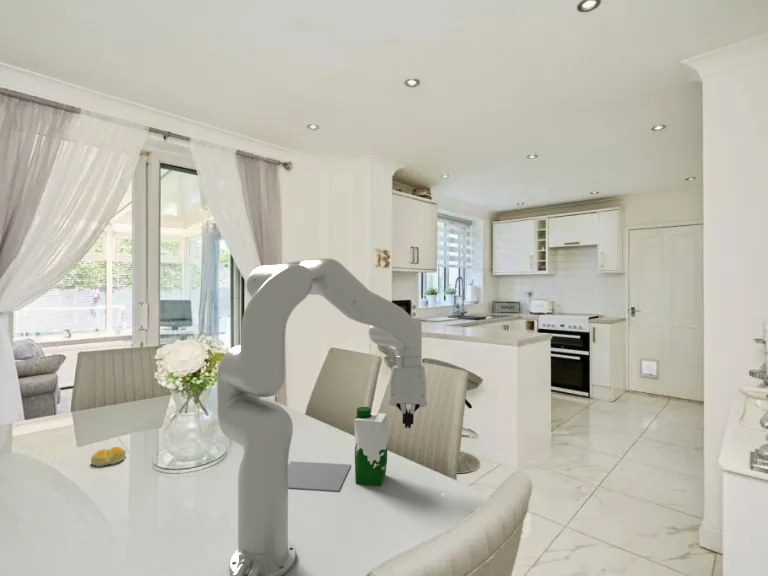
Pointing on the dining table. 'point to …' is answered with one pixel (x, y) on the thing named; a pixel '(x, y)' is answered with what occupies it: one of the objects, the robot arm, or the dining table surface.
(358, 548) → the dining table surface
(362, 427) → the white and green box
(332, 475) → the placemat
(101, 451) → the bread roll
